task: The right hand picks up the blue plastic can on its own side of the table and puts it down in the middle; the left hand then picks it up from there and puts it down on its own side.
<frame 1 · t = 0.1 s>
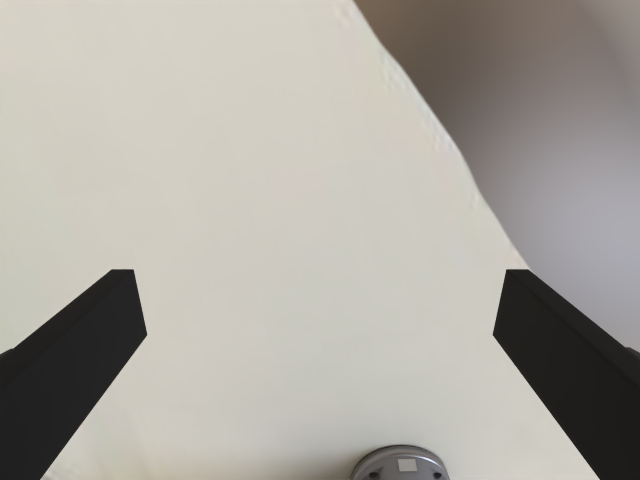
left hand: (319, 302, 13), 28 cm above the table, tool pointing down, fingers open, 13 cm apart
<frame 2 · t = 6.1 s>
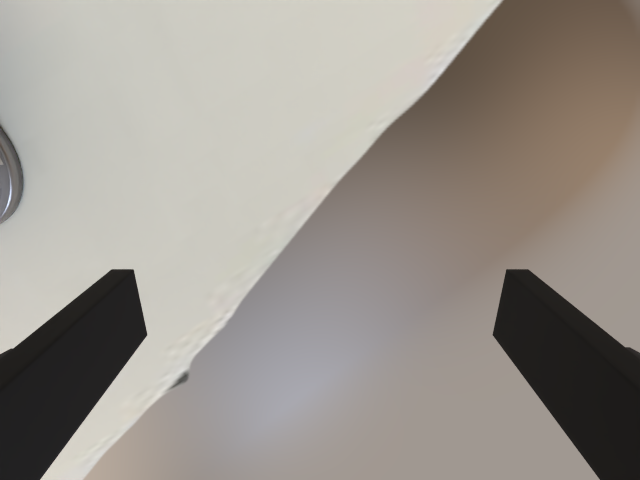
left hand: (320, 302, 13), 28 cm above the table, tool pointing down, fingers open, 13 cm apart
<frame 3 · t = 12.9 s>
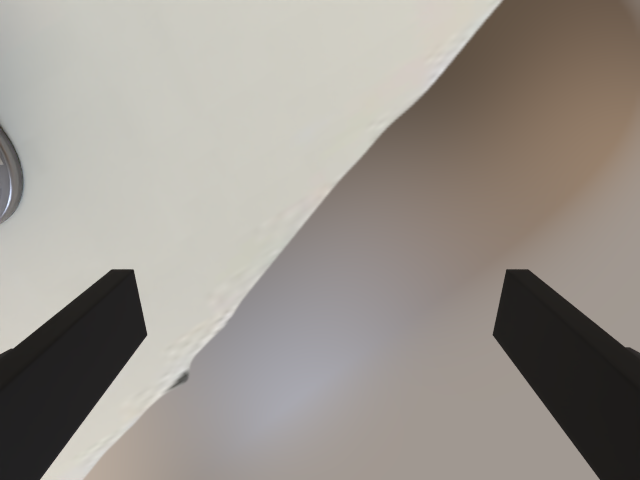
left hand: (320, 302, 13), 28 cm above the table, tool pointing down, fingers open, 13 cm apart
when the right hand's fingers open (4 cm above the table, at t = 19.8 s): can drops 2 cm, on the table.
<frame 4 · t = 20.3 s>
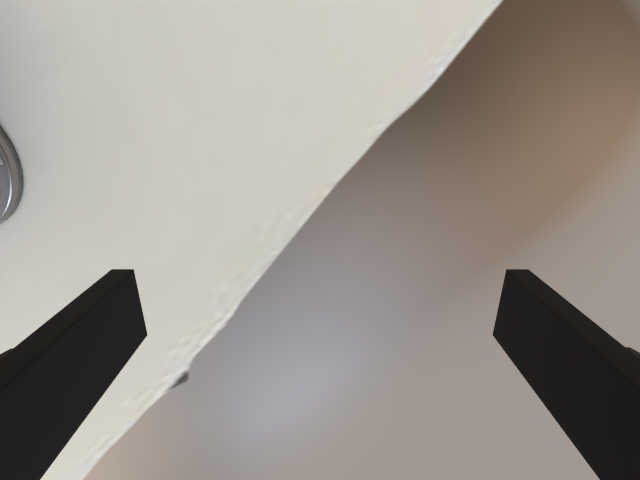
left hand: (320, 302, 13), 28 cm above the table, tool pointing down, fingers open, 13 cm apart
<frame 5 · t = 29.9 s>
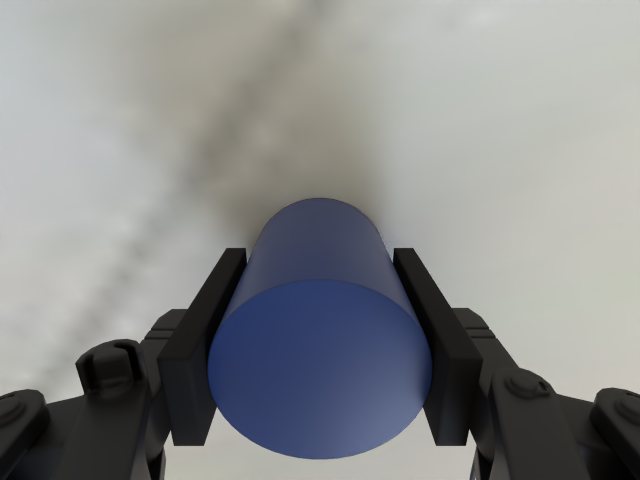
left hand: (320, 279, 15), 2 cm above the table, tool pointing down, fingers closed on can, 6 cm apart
can: (319, 260, 16), on the table, touching left hand
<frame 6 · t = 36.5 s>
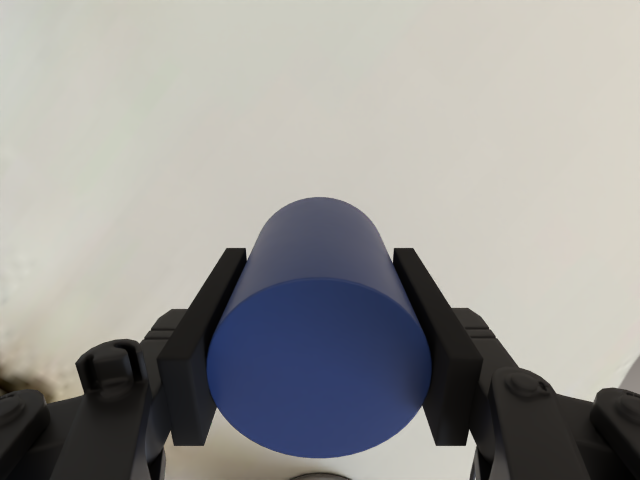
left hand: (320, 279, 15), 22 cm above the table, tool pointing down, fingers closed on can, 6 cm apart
can: (319, 259, 16), point 20 cm above the table, touching left hand
when the left hand's fingers open (4 cm above the table, at t = 43.5 s): can drops 2 cm, on the table.
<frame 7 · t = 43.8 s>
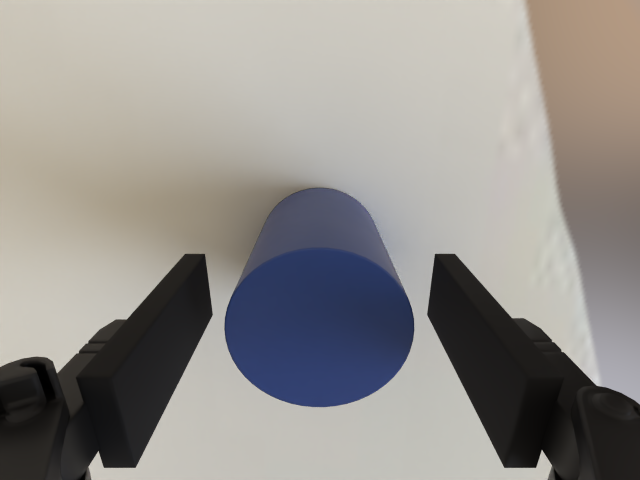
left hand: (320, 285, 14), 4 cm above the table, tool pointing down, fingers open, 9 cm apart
can: (319, 244, 18), on the table
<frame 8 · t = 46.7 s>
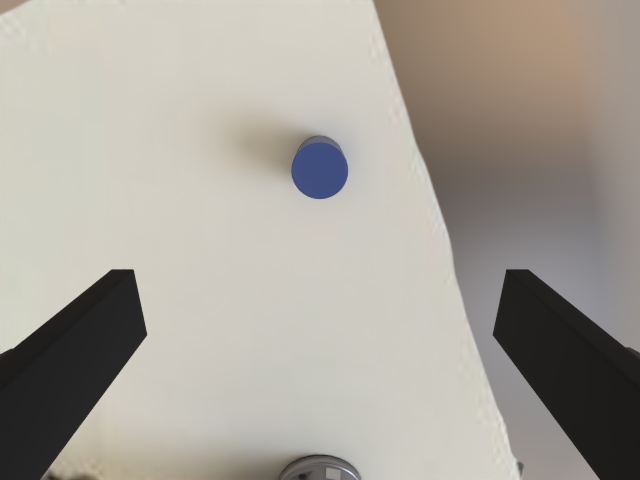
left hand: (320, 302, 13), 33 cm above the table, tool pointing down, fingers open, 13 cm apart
can: (319, 160, 44), on the table
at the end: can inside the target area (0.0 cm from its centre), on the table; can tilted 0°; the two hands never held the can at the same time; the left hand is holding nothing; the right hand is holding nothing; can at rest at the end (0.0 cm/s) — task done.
